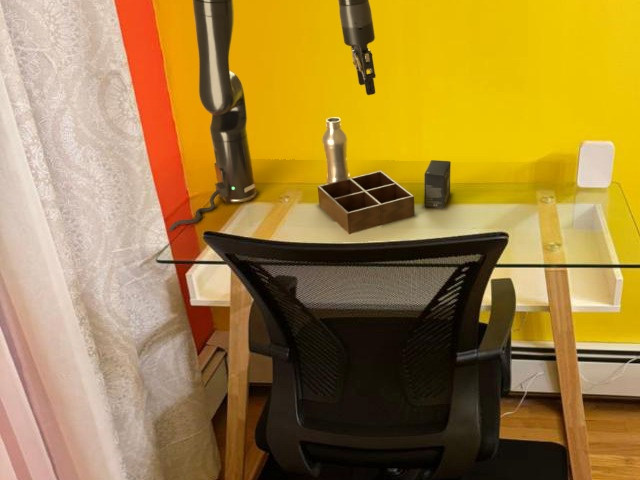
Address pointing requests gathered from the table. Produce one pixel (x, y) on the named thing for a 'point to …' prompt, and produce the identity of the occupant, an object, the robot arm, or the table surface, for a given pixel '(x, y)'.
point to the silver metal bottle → (335, 151)
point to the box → (437, 184)
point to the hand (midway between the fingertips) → (367, 89)
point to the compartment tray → (366, 201)
